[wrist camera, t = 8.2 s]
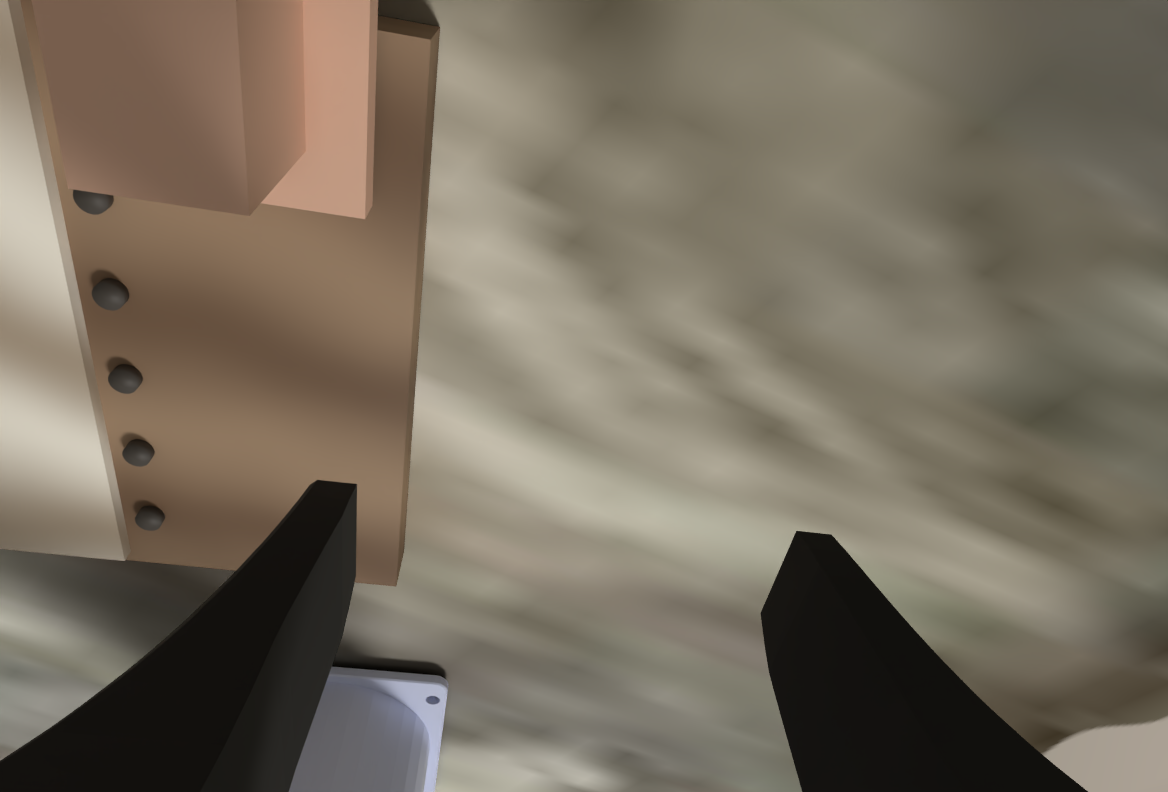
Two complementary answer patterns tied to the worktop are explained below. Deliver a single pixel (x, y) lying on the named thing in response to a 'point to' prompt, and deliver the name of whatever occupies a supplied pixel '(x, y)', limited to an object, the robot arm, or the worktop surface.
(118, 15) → the peach plate with block
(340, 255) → the board
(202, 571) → the worktop surface
